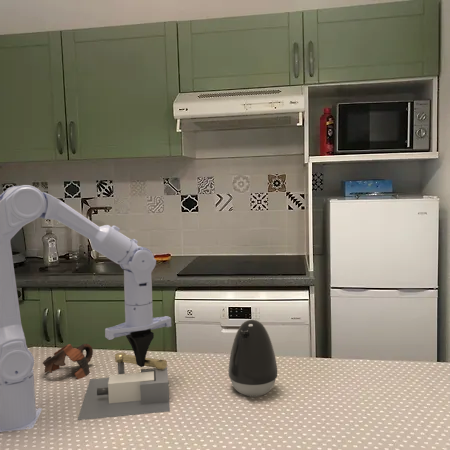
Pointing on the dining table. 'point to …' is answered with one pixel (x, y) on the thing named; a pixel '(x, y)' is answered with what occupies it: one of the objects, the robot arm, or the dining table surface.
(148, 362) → the brass ball-knob lever
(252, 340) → the pump dispenser
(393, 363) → the dining table surface
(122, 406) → the socket
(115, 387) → the plug
